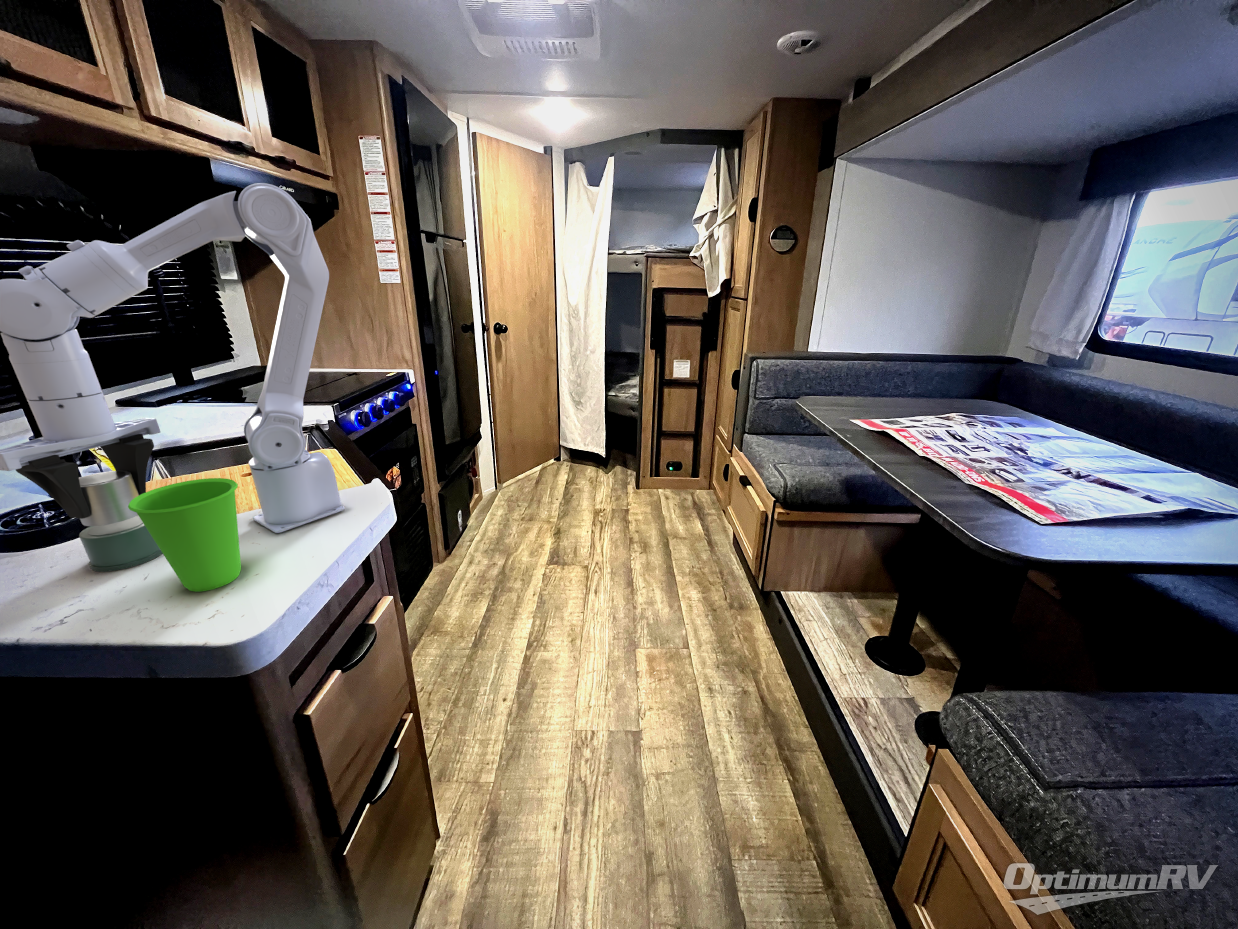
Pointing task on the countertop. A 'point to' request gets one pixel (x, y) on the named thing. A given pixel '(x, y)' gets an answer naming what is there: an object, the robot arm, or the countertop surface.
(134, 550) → the green round puck
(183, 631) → the countertop surface
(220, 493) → the cup
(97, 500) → the steel cup
